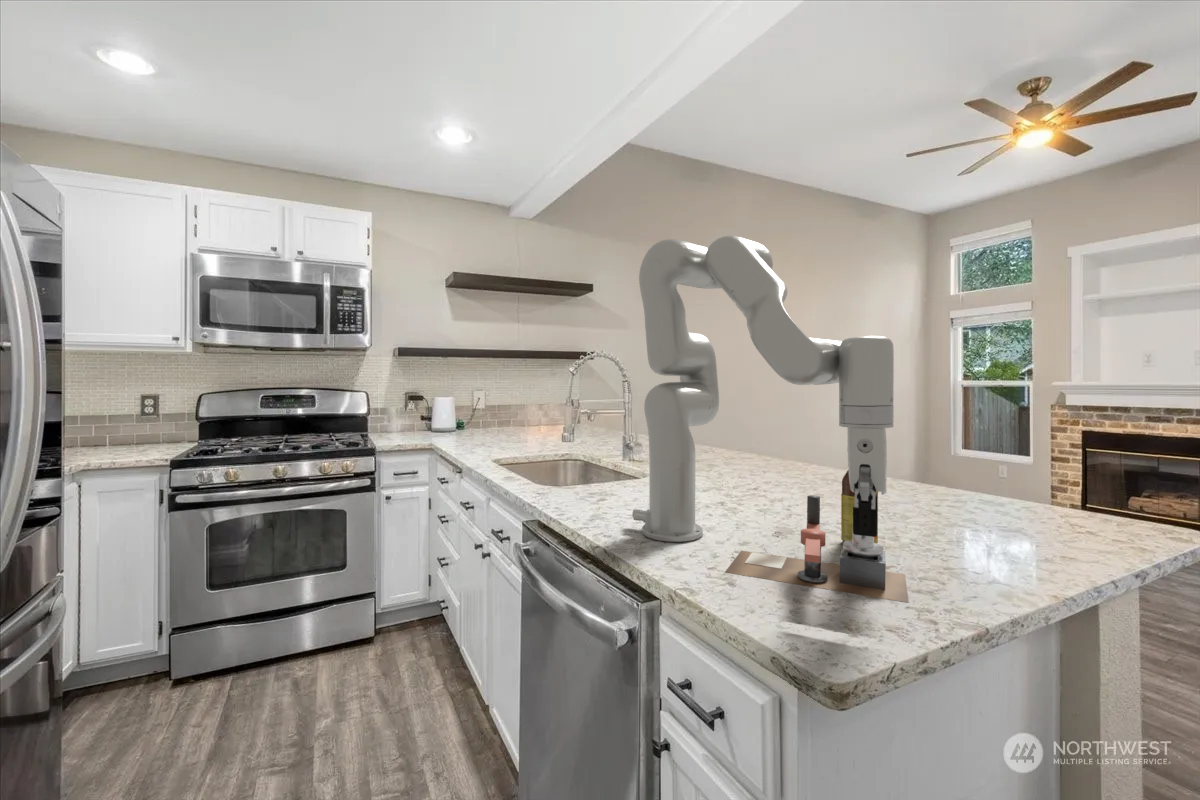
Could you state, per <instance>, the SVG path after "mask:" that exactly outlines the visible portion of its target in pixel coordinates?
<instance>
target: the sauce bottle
mask: <svg viewBox="0 0 1200 800" xmlns="http://www.w3.org/2000/svg"><path fill="white" fill-rule="evenodd" d="M846 450H847V452H848V449H846ZM875 496H877V536H876V537H874V543H877V544H879V542H878V541H879V492H877V490H876V495H875ZM840 498H841V499H840V500H841V501H840V502H841V503H840V505H841V506H840V507H841V508H840V510H841V512H840V513H841V515H840V518H841V519H840V521H841V528H840V529H841V530H840V531H841V533H840V537H841V538H840V540H841V541H842V542H841V543H842V545H843V543H844V542H845V541H848V540H852V537H853V507H855V493H854V492H852V491H851V490H850V481H849V470H847V471H846V473H845V474H844V476H843V477H842V479H841V497H840Z"/></svg>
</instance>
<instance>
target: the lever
mask: <svg viewBox="0 0 1200 800" xmlns="http://www.w3.org/2000/svg"><path fill="white" fill-rule="evenodd" d="M806 497H807V499H806V501H807V502H806V505H807V507H806V528H803V529H801V530H800V543H801V544H802V545H804V560H805V561H807V562H816V563H820V547H821V548H823V547H825V546H826V532H825V531H824V530H821V527H820V526H821V523H820V522H821V521H820V520H821V518H820V517H821V514H820V513H821V497H820V496H818V495H810V494H809V495H807V496H806Z"/></svg>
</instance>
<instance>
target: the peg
mask: <svg viewBox="0 0 1200 800" xmlns="http://www.w3.org/2000/svg"><path fill="white" fill-rule="evenodd" d="M842 546H843V549H844V550H845V551H846V552H849V553H851V554H852V557H856V558H863V559H871V560H874V557H875V556H881V555H883V551H884V547H883V546H882V545H881V544H879V543H874V537H871V536H862V535H855V534H853V537H852V540H848V541H845V542H844V543H843V544H842Z"/></svg>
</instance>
